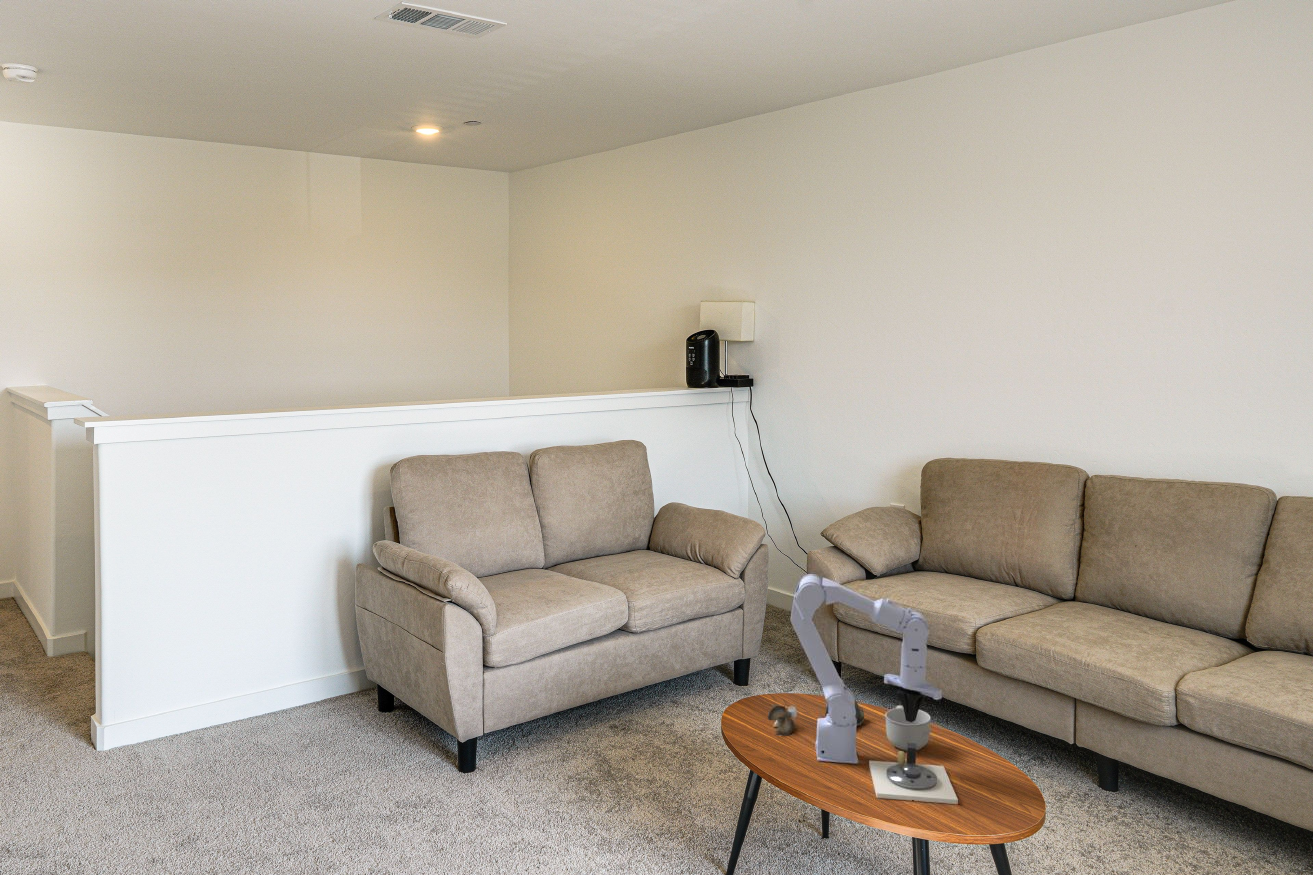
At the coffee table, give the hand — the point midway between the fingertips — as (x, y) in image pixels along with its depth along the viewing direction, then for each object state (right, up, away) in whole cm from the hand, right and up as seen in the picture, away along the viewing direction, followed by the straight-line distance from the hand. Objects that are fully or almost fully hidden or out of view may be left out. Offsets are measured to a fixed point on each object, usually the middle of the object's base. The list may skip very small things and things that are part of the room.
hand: (910, 720), depth 217 cm
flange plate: (-2, -10, -8) cm, 13 cm away
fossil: (-11, -9, +25) cm, 29 cm away
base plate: (-3, -11, -10) cm, 15 cm away
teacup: (+2, -10, +13) cm, 16 cm away
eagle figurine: (-28, -9, +20) cm, 35 cm away
